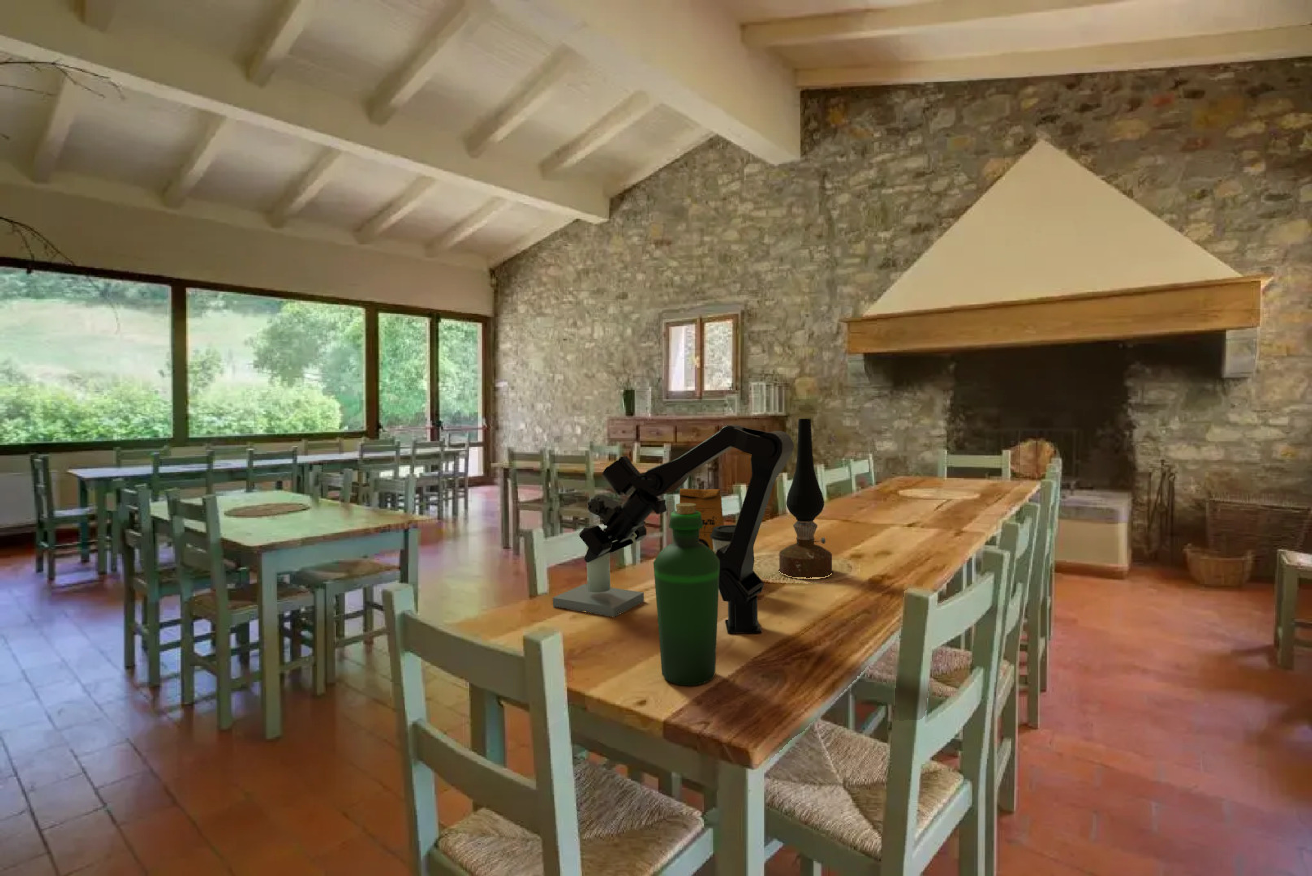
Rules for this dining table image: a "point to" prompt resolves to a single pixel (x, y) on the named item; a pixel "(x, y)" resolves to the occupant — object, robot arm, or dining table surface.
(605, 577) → the shaker
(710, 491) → the coffee package
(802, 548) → the oil lamp
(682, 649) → the bottle
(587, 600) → the slate board
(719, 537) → the coffee cup
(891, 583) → the dining table surface
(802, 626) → the dining table surface
